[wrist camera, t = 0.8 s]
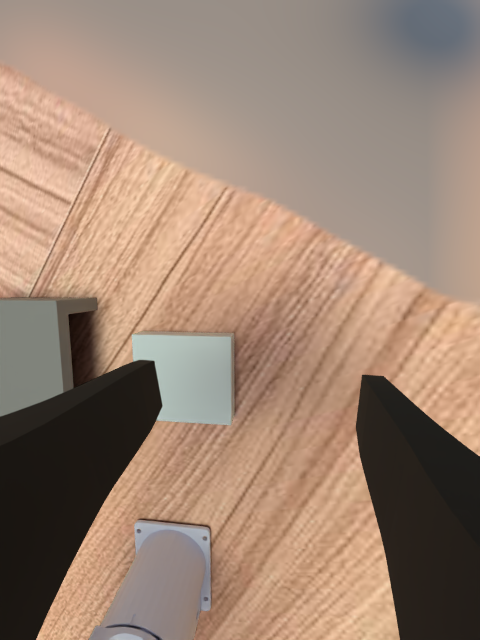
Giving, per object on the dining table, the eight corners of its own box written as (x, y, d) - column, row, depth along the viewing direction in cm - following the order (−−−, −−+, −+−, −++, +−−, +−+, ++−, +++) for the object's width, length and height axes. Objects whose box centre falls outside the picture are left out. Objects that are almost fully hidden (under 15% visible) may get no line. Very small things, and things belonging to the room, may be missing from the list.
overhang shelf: (105, 437, 29) (69, 469, 24) (22, 431, 31) (-29, 461, 25) (96, 297, 28) (56, 300, 23) (9, 297, 29) (-49, 299, 24)
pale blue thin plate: (235, 412, 28) (231, 425, 25) (147, 407, 29) (135, 419, 27) (235, 332, 27) (231, 336, 24) (144, 330, 28) (131, 334, 26)
